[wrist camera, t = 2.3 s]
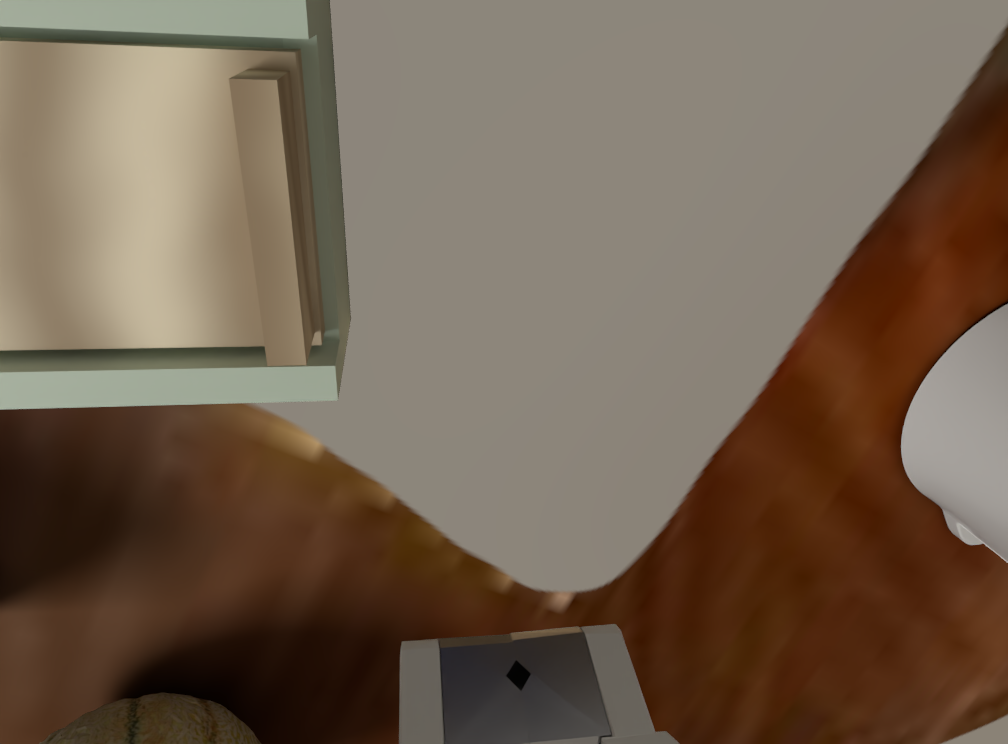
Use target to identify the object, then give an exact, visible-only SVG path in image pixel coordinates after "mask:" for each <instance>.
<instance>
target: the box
mask: <svg viewBox="0 0 1008 744" xmlns="http://www.w3.org/2000/svg"><path fill="white" fill-rule="evenodd" d="M0 37H9V38H35V39H60V40H85V41H110V42H135V43H161V44H186V45H211V46H236V47H261V48H287V49H301V58H302V70H303V81H304V93H305V104H306V116H307V128H308V139H309V151H310V162H311V174H312V185H313V197H314V208H315V220H316V232H317V243H318V255H319V266H320V278H321V289H322V301H323V312H324V324H325V333H324V338H323V342H322V345H315V346H311V349H310V353H309V357H308V361H307V365H288V366H267V360H266V352H265V346H252V347H190V348H128V349H66V350H4V351H0V410H1V409H38V408H76V407H114V406H151V405H189V404H226V403H261V402H262V403H263V402H300V401H301V402H302V401H338V397H339V391H340V385H341V378H342V372H343V366H344V359H345V352H346V346H347V340H348V333H349V327H350V321H351V316H350V300H349V285H348V270H347V255H346V240H345V225H344V209H343V194H342V179H341V166H340V149H339V134H338V119H337V104H336V90H335V74H334V59H333V44H332V29H331V14H330V0H0Z"/></svg>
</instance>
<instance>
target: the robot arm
mask: <svg viewBox="0 0 1008 744" xmlns="http://www.w3.org/2000/svg"><path fill="white" fill-rule="evenodd" d="M901 453H902V460H903V465H904V468H905V471H906V473H907V475H908V477H909V479H910V480H911V482H912V483H913V485H914V486H915V487H916V488H917V489H918V490H919V491H920V492H921V493H922V494H924V495H925V496H927V497H928V498H929V499H931V500H932V501H934V502H935V503H937V504H938V505H939V506H940V507H941V508H942V509H943V513H944V516H945V519H946V522H947V525H948V527H949V529H950V531H951V532H952V533H953V534H954V535H956V536H957V537H958V538H959V539H961V540H962V541H963V542H965V543H966V544H969V545H979V544H985V545H986V546H987V547H989V548H990V549H991V550H992V551H994V552H995V553H996V554H997V555H999V556H1000V557H1001V558H1002V559H1004V560H1005V561H1006V562H1007V563H1008V304H1006V305H1005V306H1003V307H1001V308H999V309H998V310H996V311H994V312H993V313H991V314H990V315H988V316H987V317H985V318H984V319H983V320H981V321H980V322H979V323H977V324H976V325H975V326H973V327H972V328H971V329H970V330H968V331H967V332H966V333H965V334H964V335H963V336H961V337H960V338H959V339H958V340H957V341H956V342H955V343H954V344H953V345H952V346H951V347H950V348H949V349H948V350H947V351H946V352H945V353H944V354H943V356H942V357H941V358H940V359H939V360H938V361H937V363H936V364H935V365H934V366H933V368H932V369H931V370H930V372H929V373H928V375H927V376H926V378H925V379H924V381H923V382H922V384H921V385H920V387H919V389H918V391H917V392H916V394H915V396H914V398H913V400H912V403H911V405H910V407H909V410H908V413H907V416H906V419H905V422H904V426H903V432H902V439H901ZM439 643H440V651H439ZM399 744H679V743H678V742H677V741H676V740H675V739H674V738H673V737H672V736H671V735H670V734H668V733H667V732H666V731H664V732H655V730H654V727H653V724H652V721H651V718H650V715H649V712H648V709H647V706H646V704H645V701H644V698H643V695H642V692H641V689H640V686H639V683H638V680H637V677H636V674H635V671H634V668H633V665H632V662H631V659H630V656H629V653H628V650H627V648H626V645H625V642H624V639H623V636H622V633H621V630H620V629H619V628H618V627H617V625H616V624H612V625H600V626H588V627H580V628H579V627H569V628H558V629H548V630H538V631H528V632H518V633H510V634H509V635H495V636H477V637H460V638H442V639H440V641H439V640H438V639H430V640H416V641H402V644H401V650H400V704H399Z"/></svg>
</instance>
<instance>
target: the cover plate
mask: <svg viewBox="0 0 1008 744" xmlns="http://www.w3.org/2000/svg"><path fill="white" fill-rule="evenodd" d="M324 333H325V324H324V312H323V301H322V289H321V278H320V266H319V255H318V243H317V232H316V220H315V208H314V197H313V185H312V174H311V162H310V151H309V139H308V128H307V116H306V104H305V93H304V81H303V70H302V58H301V49H287V48H261V47H236V46H211V45H186V44H161V43H135V42H110V41H85V40H60V39H35V38H9V37H0V351H4V350H66V349H128V348H190V347H252V346H265V352H266V360H267V366H288V365H307V361H308V357H309V353H310V349H311V346H315V345H322V342H323V338H324Z"/></svg>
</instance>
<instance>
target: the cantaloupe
mask: <svg viewBox="0 0 1008 744" xmlns="http://www.w3.org/2000/svg"><path fill="white" fill-rule="evenodd" d="M40 744H261V743H260V741H259V740H258V739H257V738H256V736H255V734H254V733H253V731H252V730H251V729H250V728H249V727H248V726H247V725H246V724H245V723H244V722H242V721H241V720H240V719H238V718H237V717H236V716H235V715H234V714H233V713H232V712H231V711H229V710H228V709H226V708H225V707H223V706H222V705H221V704H218V703H215V702H212V701H209V700H205V699H200V698H195V697H193V696H189V695H181V694H169V693H157V694H149V695H144V696H142V697H139V698H136V699H121V700H119V701H116V702H113V703H110V704H106V705H103V706H101V707H100V708H98V709H96V710H94V711H91V712H88V713H85V714H84V715H82V716H81V717H79V718H78V719H77V720H75V721H74V722H72V723H71V724H69V725H68V726H66V727H65V728H62V729H59V730H57V731H55V732H54V733H52V734H50V735H49V736H48V737H47V738H46V739H45V740H44V741H43V742H41V743H40Z"/></svg>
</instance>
